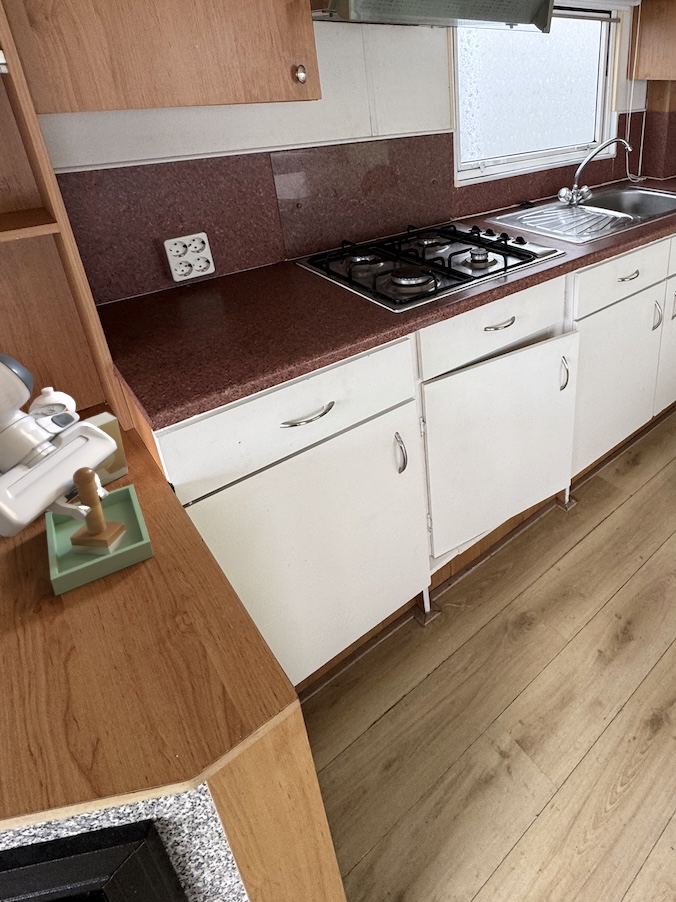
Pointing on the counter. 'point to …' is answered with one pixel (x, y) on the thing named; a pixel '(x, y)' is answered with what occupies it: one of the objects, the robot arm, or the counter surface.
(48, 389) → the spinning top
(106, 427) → the cosmetic box
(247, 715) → the counter surface
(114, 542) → the stamp
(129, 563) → the tray
